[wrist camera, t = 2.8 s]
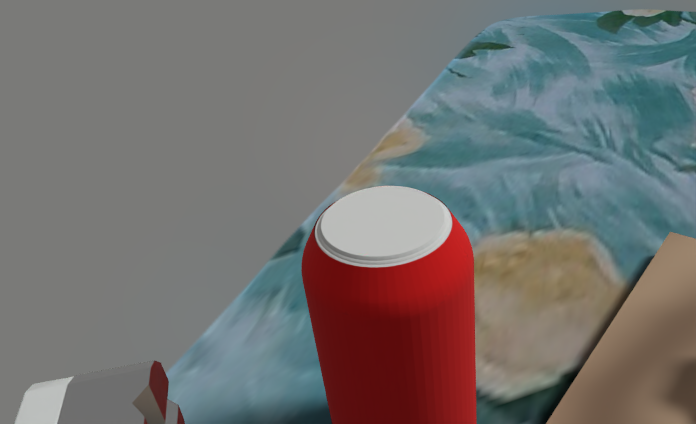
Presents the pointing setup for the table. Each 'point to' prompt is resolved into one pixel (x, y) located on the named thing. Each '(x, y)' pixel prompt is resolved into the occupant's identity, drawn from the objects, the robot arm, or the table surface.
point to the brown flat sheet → (644, 351)
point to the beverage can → (393, 309)
